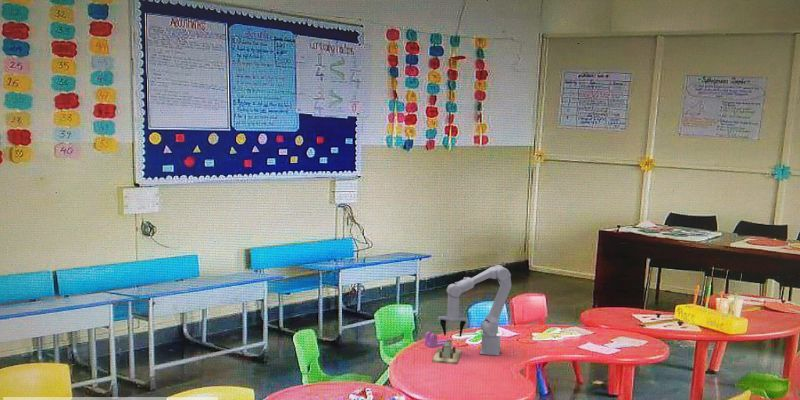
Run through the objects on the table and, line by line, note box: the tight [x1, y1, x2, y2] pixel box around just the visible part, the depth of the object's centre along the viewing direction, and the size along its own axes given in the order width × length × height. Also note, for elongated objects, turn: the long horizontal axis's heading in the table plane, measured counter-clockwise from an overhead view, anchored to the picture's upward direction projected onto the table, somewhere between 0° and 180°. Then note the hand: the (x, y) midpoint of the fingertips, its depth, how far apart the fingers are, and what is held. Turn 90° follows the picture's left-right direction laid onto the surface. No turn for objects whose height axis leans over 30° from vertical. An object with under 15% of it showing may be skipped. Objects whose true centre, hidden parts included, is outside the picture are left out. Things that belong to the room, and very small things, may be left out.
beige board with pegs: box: [431, 346, 463, 365], centre depth 358 cm, size 12×20×4 cm, turn 168°
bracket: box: [424, 331, 447, 349], centre depth 378 cm, size 13×6×7 cm, turn 123°
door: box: [444, 339, 453, 358], centre depth 358 cm, size 2×10×6 cm, turn 168°
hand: (452, 335), depth 362 cm, fingers open, 7 cm apart
